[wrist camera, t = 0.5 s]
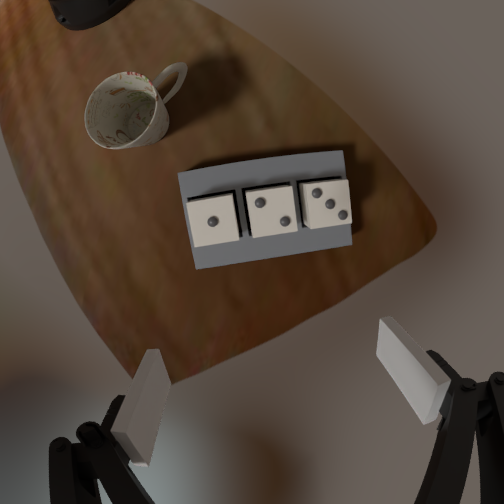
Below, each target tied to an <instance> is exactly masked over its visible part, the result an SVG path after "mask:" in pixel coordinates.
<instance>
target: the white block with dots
mask: <svg viewBox="0 0 504 504" xmlns="http://www.w3.org/2000/svg"><path fill="white" fill-rule="evenodd" d="M298 184H299V191H300V199H301V207H302V215H303V223H304V224H305V225H306V226H307V227H309V228H310V229H316V228H322V227H329V226H336V225H343V224H350V223H352V216H351V204H350V194H349V184H348V180H345V179H331V180H322V181H313V182H304V183H298Z"/></svg>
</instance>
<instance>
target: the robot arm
mask: <svg viewBox="0 0 504 504" xmlns="http://www.w3.org/2000/svg"><path fill="white" fill-rule="evenodd" d="M48 1H49V3H50V5H51V8H52V10H53V13H54V15H55V18H56V20H57V21H58V22H59V23H60V24H61V25H63V26H64V27H65V28H67V29H69V30H84V29H88V28H91V27H94V26H96V25H98V24H100V23H102V22H104V21H106V20H108V19H109V18H111V17H112V16H114V15H115V14H116V13H118V12H119V11H120V10H121V9H122V8H124V7H125V6H126V5H127V4H128V3H129V1H130V0H48ZM376 355H377V357H378V358H379V360H380V361H381V362H382V364H383V365H384V367H385V368H386V370H387V371H388V373H389V374H390V375H391V377H392V378H393V380H394V381H395V383H396V384H397V386H398V387H399V389H400V390H401V392H402V393H403V395H404V396H405V398H406V399H407V401H408V402H409V404H410V405H411V407H412V408H413V409H414V411H415V413H416V414H417V416H418V417H419V419H420V420H421V422H422V423H423V425H425V424H427V423H429V422H431V421H434V420H435V419H436V418H437V416H438V413H439V412H440V413H441V415H442V416H443V417H442V419H441V421H440V423H439V425H438V428H437V430H438V434H437V438H436V442H435V445H434V449H433V452H432V456H431V459H430V462H429V465H428V468H427V471H426V474H425V477H424V480H423V482H422V485H421V488H420V490H419V493H418V495H417V498H416V500H415V503H414V504H460V500H461V497H462V493H463V489H464V486H465V481H466V477H467V473H468V468H469V464H470V459H471V454H472V448H473V441H474V434H475V431H476V438H477V446H478V455H479V468H480V488H481V489H480V493H481V503H480V504H504V373H503V372H495V373H493V374H491V376H490V378H489V380H488V381H485V382H481V383H476V382H475V381H474V380H472V379H470V378H461V377H460V375H459V374H458V373H457V372H456V371H455V370H454V369H453V368H452V367H451V366H450V365H449V364H448V363H447V362H446V361H445V360H444V359H443V358H442V357H441V356H440V355H439V354H438V353H436V352H434V351H432V350H429V351H426V352H425V351H424V350H423V349H422V348H421V347H420V345H419V344H418V343H417V342H416V341H415V340H414V339H413V338H412V337H411V336H410V335H409V334H408V333H407V332H406V331H405V330H404V329H403V328H402V327H401V326H400V325H399V324H398V323H397V322H396V321H395V320H394V319H393V318H392V316H388V317H383V318H380V323H379V335H378V343H377V353H376ZM170 386H171V382H170V379H169V377H168V374H167V371H166V368H165V365H164V362H163V360H162V357H161V354H160V351H159V349H147V351H146V353H145V355H144V357H143V359H142V361H141V363H140V366H139V368H138V370H137V372H136V374H135V376H134V379H133V381H132V383H131V385H130V387H129V390H128V392H127V394H126V395H118V396H117V397H116V398H115V399H114V400H113V401H112V403H111V405H110V407H109V409H108V411H107V413H106V414H107V415H105V417H104V419H103V422H102V424H101V426H100V425H99V424H98V423H96V422H90V421H89V422H86V423H83V424H82V425H80V426H79V427H78V429H77V431H76V436H77V438H78V439H79V440H80V442H81V443H73V444H72V443H71V442H70V441H69V440H68V439H67V438H65V437H59V438H56V439H54V440H53V441H52V442H51V443H50V446H49V488H50V502H51V504H102V502H101V497H100V493H99V488H98V483H97V479H100V481H101V483H102V485H103V487H104V489H105V491H106V493H107V495H108V497H109V498H110V500H111V502H112V504H155V503H154V501H153V500H152V499H151V497H150V496H149V495H148V493H147V492H146V491H145V489H144V488H143V486H142V485H141V483H140V482H139V480H138V479H137V477H136V476H135V474H134V473H133V471H132V470H131V469H130V467H129V466H128V463H129V461H130V460H131V461H132V462H133V464H134V465H136V466H145V467H149V464H150V460H151V456H152V453H153V449H154V444H155V441H156V437H157V433H158V429H159V426H160V422H161V418H162V415H163V411H164V407H165V404H166V400H167V397H168V393H169V390H170Z"/></svg>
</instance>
